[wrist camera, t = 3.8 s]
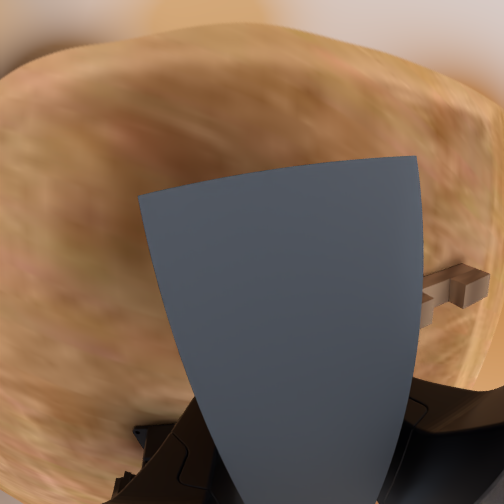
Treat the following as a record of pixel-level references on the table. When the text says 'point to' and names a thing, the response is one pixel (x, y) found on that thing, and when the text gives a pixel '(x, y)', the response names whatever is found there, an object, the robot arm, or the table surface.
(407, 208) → the light blue slab
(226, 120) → the table surface
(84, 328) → the table surface
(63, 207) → the table surface
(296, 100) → the table surface
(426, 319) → the notched rail
